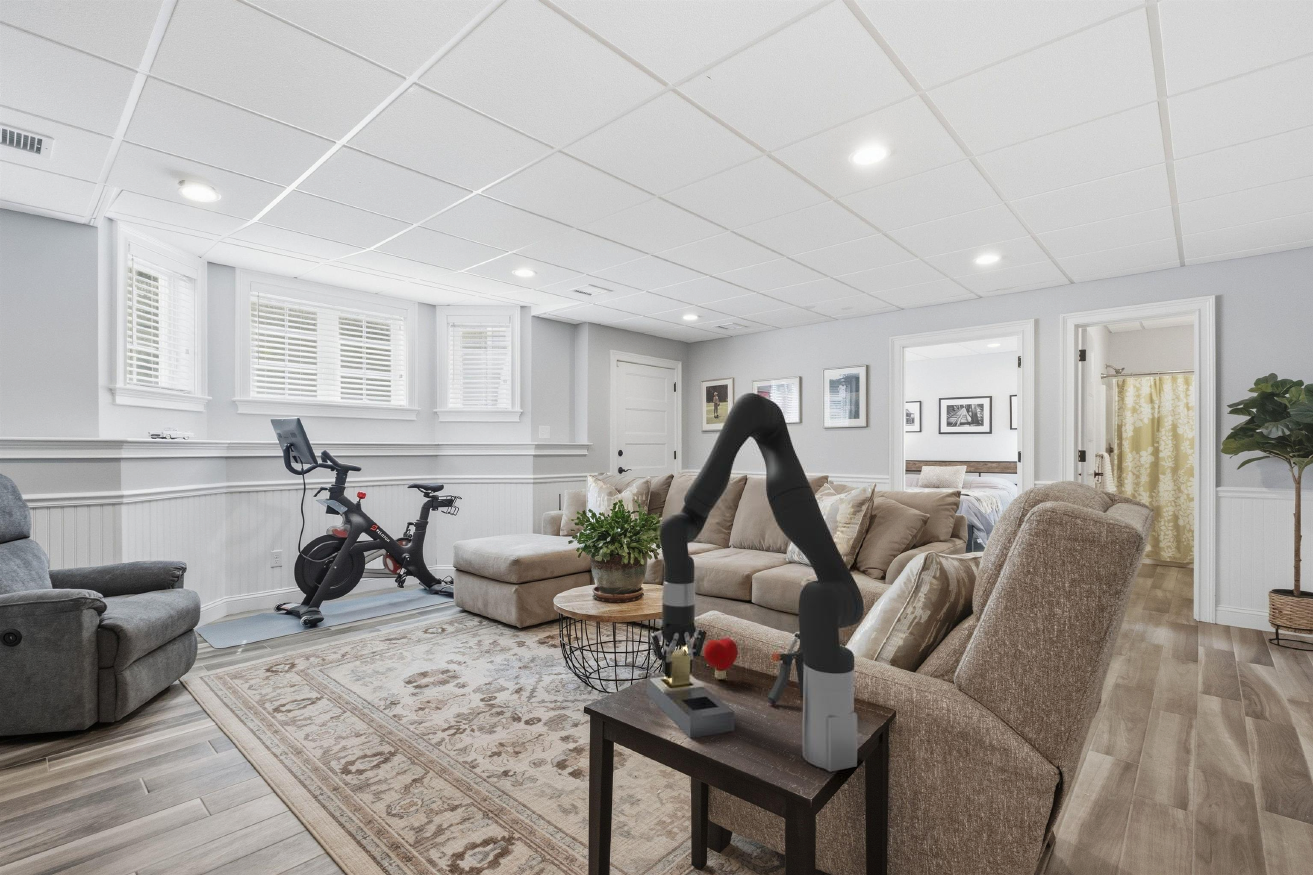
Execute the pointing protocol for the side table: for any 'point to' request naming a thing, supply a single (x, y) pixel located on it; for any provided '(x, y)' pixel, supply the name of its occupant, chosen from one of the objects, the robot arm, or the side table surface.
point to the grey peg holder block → (692, 707)
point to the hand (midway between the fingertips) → (677, 675)
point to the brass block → (679, 670)
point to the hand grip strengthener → (787, 671)
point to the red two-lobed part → (720, 655)
